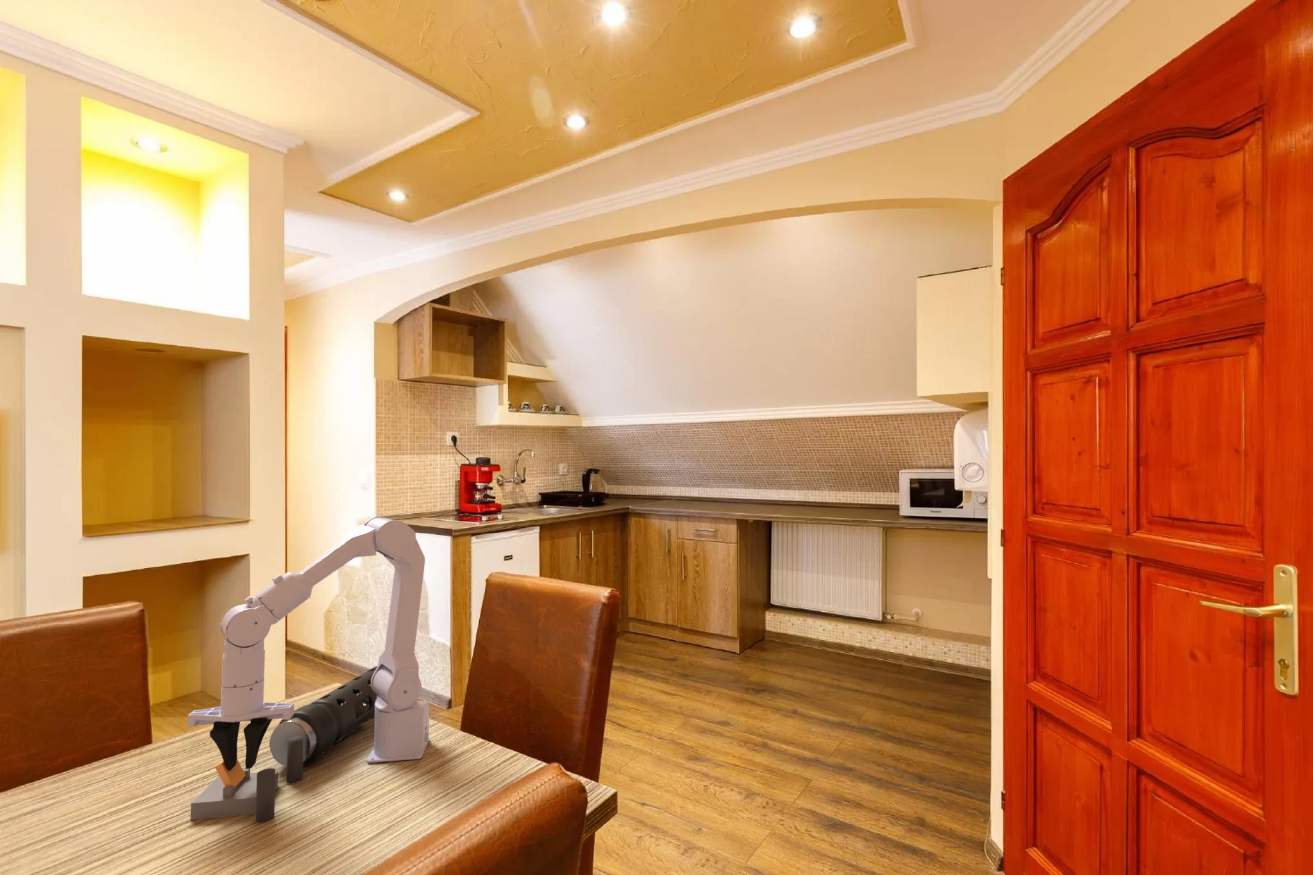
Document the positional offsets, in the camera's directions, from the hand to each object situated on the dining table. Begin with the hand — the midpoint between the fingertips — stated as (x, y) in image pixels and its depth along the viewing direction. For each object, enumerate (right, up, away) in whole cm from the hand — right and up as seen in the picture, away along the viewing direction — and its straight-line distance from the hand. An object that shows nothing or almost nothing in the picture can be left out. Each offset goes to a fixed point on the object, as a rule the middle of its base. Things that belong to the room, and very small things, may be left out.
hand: (240, 766), depth 97 cm
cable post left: (+7, -6, -4) cm, 10 cm away
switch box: (-1, -6, 0) cm, 6 cm away
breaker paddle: (-1, -3, 0) cm, 3 cm away
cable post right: (+5, -6, +7) cm, 10 cm away
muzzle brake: (-1, -3, +24) cm, 24 cm away
